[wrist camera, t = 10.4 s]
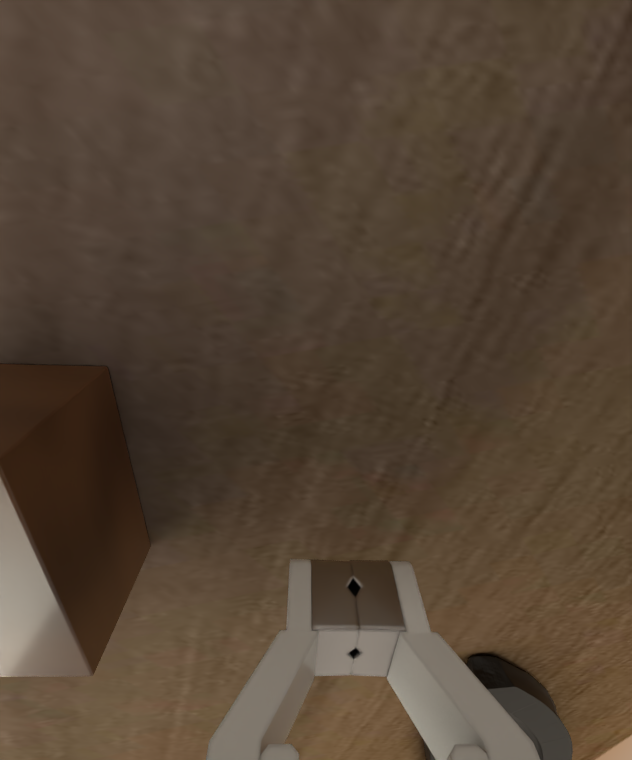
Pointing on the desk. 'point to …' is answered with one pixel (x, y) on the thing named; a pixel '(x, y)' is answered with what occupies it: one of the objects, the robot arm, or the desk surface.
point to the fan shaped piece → (523, 706)
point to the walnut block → (63, 519)
